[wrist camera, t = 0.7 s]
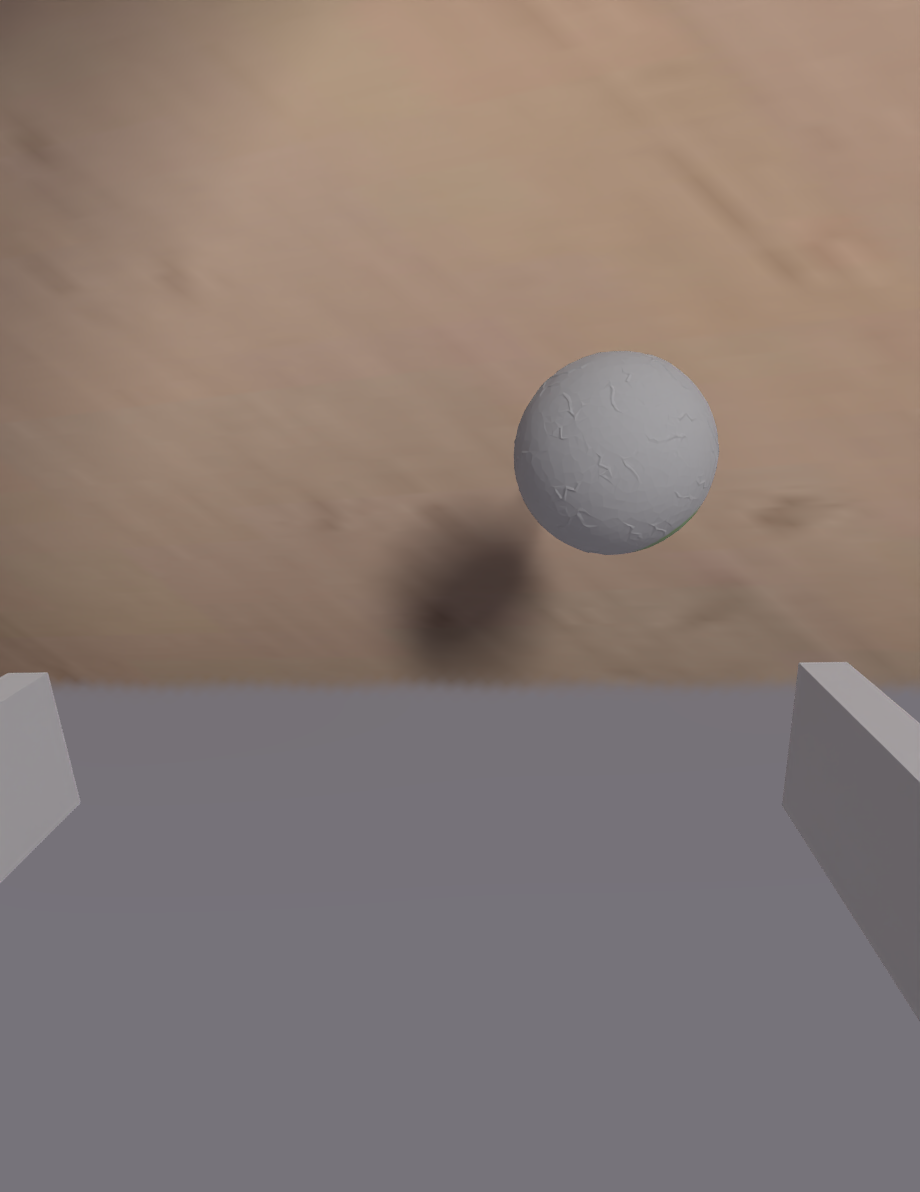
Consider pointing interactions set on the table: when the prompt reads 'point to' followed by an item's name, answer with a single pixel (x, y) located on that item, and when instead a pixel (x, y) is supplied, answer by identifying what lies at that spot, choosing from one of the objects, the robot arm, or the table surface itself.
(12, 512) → the table surface
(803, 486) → the table surface
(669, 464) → the lollipop
